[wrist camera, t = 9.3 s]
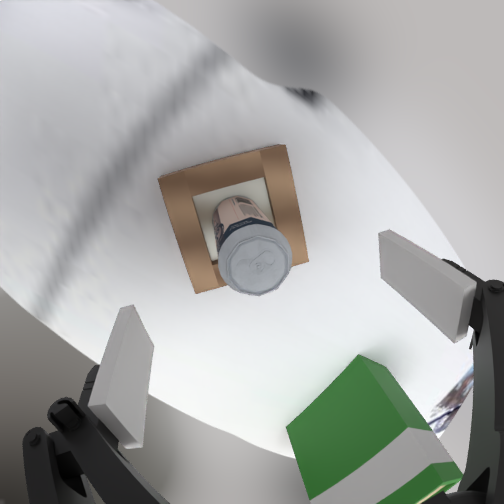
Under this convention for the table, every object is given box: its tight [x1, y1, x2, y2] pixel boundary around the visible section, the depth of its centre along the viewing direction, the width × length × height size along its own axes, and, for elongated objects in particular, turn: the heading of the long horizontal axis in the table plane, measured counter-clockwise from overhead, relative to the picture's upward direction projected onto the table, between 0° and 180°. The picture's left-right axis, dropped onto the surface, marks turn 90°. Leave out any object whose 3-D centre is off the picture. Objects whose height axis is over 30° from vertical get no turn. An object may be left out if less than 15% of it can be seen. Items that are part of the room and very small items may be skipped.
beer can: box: [212, 196, 292, 296], centre depth 24 cm, size 5×5×12 cm
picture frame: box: [158, 144, 309, 294], centre depth 30 cm, size 12×12×3 cm
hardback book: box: [286, 354, 463, 504], centre depth 33 cm, size 18×7×24 cm, turn 145°
